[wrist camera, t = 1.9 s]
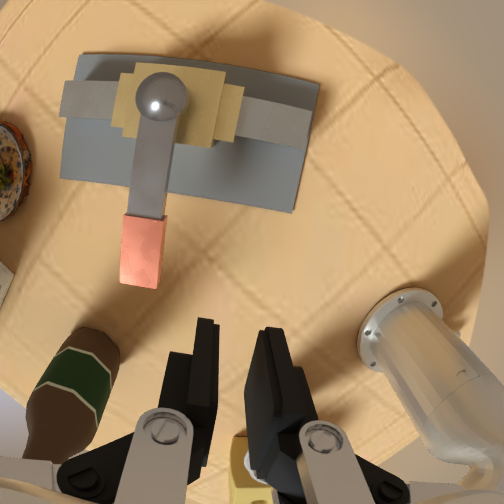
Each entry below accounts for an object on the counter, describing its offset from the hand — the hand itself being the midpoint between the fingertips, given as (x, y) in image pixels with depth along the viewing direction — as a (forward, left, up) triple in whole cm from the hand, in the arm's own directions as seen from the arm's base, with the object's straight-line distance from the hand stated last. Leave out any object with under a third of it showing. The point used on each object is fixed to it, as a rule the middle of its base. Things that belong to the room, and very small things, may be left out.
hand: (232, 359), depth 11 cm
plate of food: (+28, -1, -23) cm, 36 cm away
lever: (+6, -3, -14) cm, 15 cm away
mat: (+6, -8, -22) cm, 24 cm away
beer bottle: (+14, +20, -22) cm, 33 cm away
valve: (+6, -9, -22) cm, 25 cm away
